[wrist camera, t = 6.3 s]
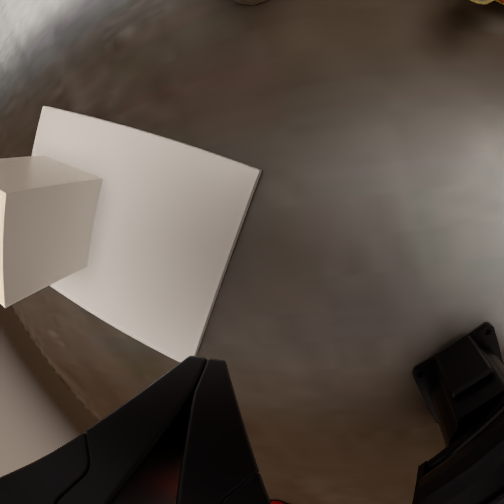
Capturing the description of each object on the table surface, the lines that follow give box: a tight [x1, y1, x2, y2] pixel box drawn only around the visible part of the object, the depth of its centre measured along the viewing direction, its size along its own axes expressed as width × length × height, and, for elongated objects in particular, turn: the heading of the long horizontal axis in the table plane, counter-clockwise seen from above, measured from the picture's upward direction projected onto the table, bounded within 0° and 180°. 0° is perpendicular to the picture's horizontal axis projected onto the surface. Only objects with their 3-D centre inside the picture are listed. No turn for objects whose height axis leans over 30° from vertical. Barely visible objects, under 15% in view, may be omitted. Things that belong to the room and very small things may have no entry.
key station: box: [0, 106, 262, 363], centre depth 16 cm, size 18×14×9 cm
